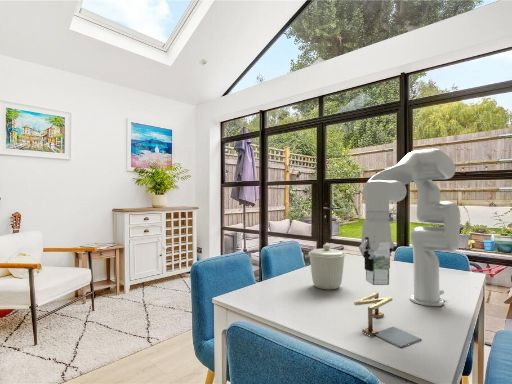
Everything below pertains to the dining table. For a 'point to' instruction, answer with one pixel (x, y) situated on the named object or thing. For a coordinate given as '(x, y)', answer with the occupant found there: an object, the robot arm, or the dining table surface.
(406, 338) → the slate mat
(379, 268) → the syrup box
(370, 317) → the accordion peg rack
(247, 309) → the dining table surface
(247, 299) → the dining table surface
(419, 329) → the dining table surface
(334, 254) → the canister
